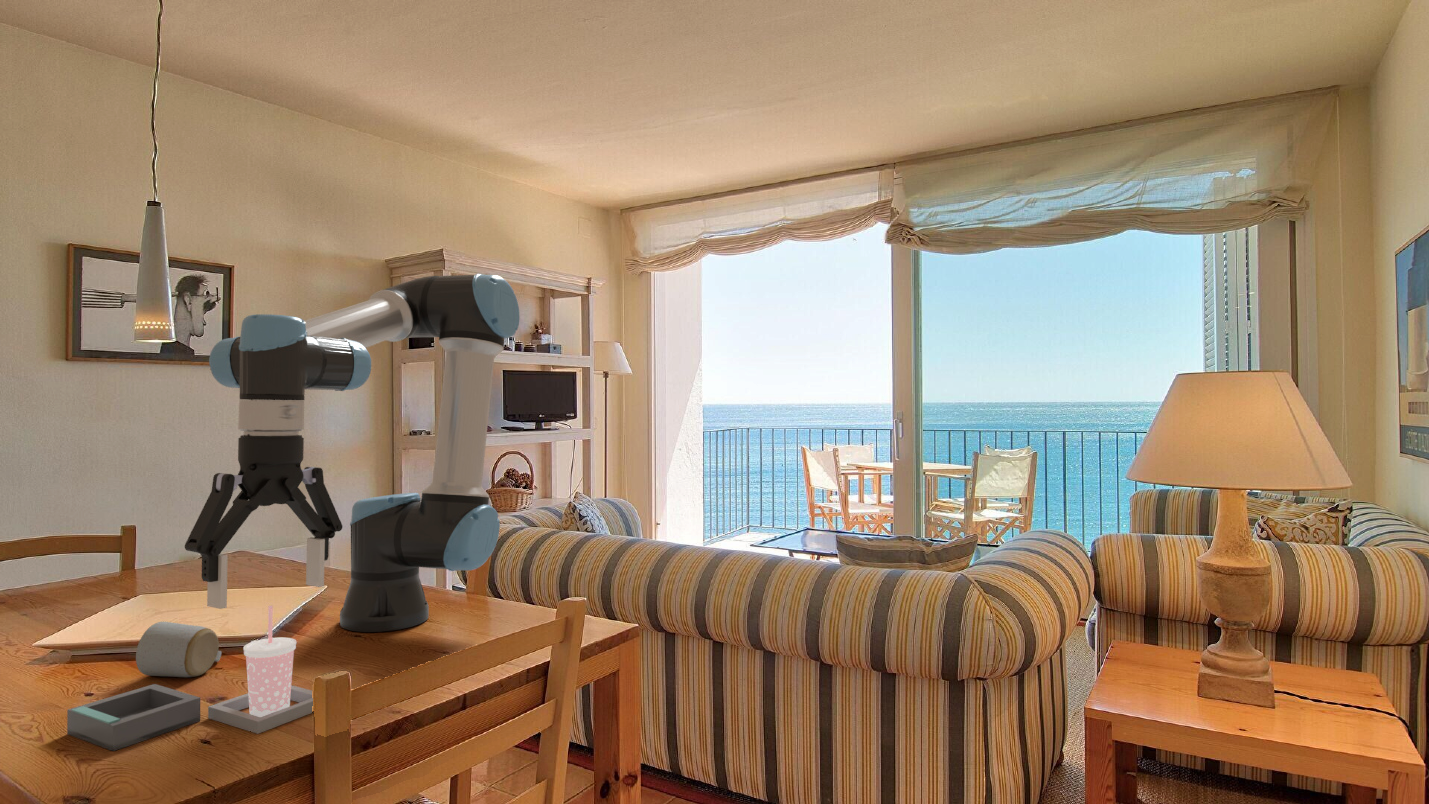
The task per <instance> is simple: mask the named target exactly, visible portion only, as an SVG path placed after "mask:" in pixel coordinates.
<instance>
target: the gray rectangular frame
mask: <svg viewBox="0 0 1429 804" xmlns="http://www.w3.org/2000/svg"><path fill="white" fill-rule="evenodd" d="M312 691H313V690H311V689H307V688H303V687H300V686H296V685H292V684H291V696H290V701H293V702H295V704H292V705H290V707H287V708H284V709H282V710H279V711H276V712H273V713H271V714H268V715H265V716H263V717H258V716H254V715H251V714H250V713H247V712H245V711H241V710H245V709H247V708H249V696H248V692H247V693H245V694H242V695H239V696H235V697H232V698H230V699H227V700H224V701H221V702H218V703H215V704H213V705H210V706H209V705H208V706H207V718H208V719H210V720H213V721H216V722H219V723H223V724H225V725H229V726H231V727H235V728H238V729H242V730H244V731H247V732H250V731H251V733H253V734H257V735H259V734H261V733H263V732H267V731H269V730H271V729H274V728H277V727H279V726H282V725H284V724H287V723H290V722H291V721H294V720H297V719H301V718H302V717H304V716H308V715H310V714H313V713H312V706H313V698H312ZM296 702H297V703H296Z"/></svg>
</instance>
